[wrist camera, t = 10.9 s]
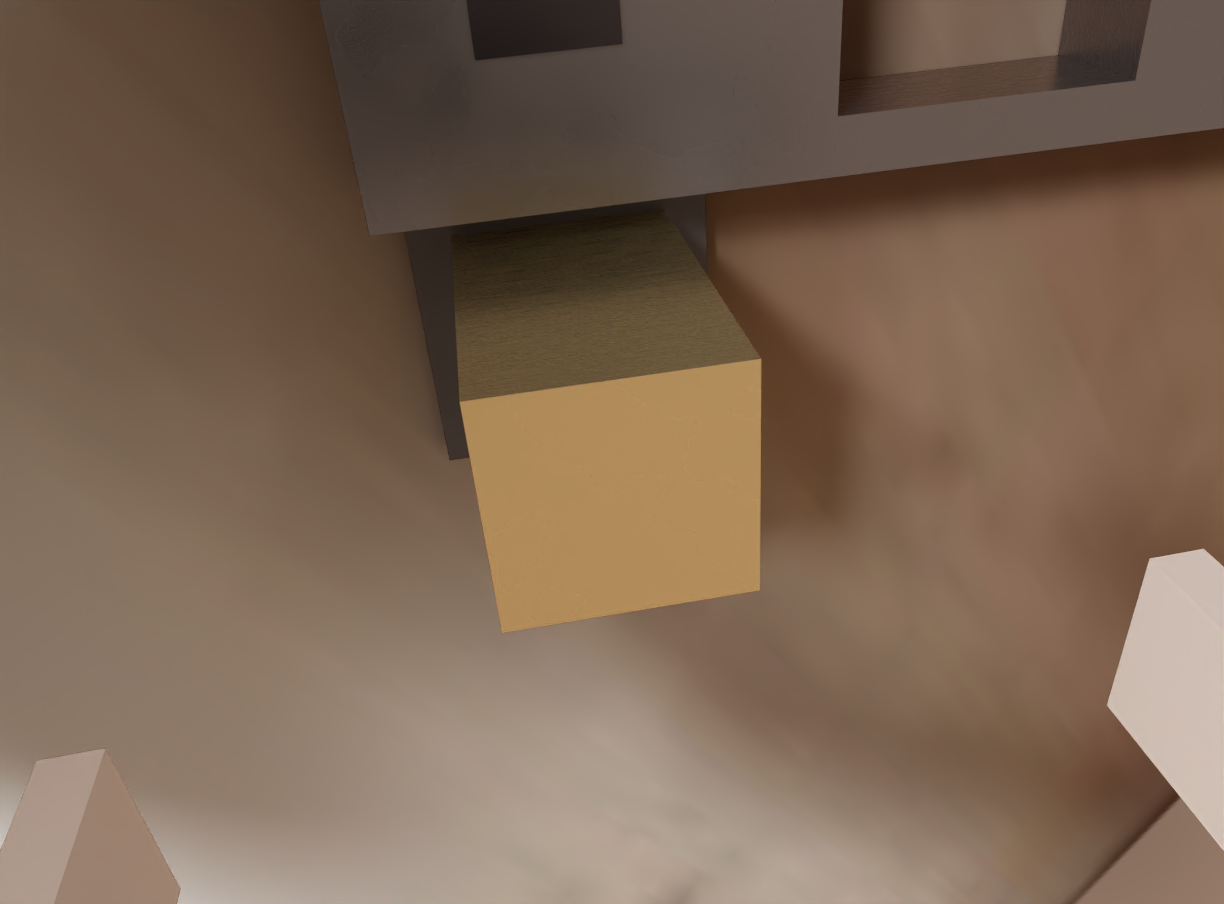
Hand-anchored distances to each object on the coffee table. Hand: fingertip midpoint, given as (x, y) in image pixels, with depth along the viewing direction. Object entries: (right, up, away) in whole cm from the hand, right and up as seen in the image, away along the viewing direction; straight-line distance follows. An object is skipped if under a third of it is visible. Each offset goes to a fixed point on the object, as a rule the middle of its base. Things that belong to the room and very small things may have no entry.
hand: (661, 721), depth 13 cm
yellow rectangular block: (-2, +7, +11) cm, 13 cm away
